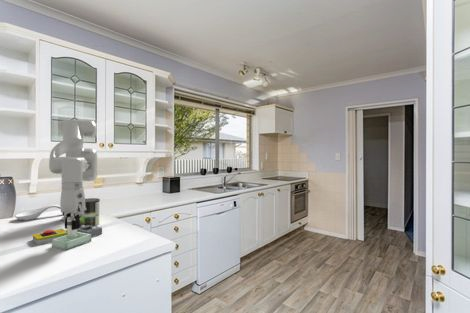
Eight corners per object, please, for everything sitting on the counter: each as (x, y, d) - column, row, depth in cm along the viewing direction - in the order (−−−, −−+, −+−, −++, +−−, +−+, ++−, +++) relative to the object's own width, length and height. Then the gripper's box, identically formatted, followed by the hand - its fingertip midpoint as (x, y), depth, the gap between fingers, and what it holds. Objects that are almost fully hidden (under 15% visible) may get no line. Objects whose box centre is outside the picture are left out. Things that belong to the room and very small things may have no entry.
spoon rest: (14, 223, 135) (14, 210, 134) (15, 219, 144) (15, 207, 144) (65, 216, 150) (65, 205, 150) (64, 213, 159) (64, 202, 159)
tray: (77, 238, 111) (77, 231, 111) (91, 241, 108) (91, 234, 108) (51, 246, 101) (51, 239, 101) (66, 250, 98) (66, 242, 98)
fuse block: (87, 231, 122) (87, 223, 122) (102, 233, 118) (102, 225, 118) (74, 235, 115) (74, 227, 115) (88, 238, 111) (88, 230, 111)
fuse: (73, 235, 107) (73, 215, 107) (79, 236, 105) (79, 216, 105) (64, 238, 103) (64, 217, 103) (70, 239, 102) (70, 218, 102)
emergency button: (27, 232, 107) (67, 225, 119) (27, 242, 107) (67, 233, 119) (32, 237, 101) (73, 228, 113) (32, 247, 101) (73, 238, 113)
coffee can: (86, 229, 124) (86, 202, 124) (73, 227, 128) (73, 200, 128) (104, 224, 133) (104, 198, 133) (91, 222, 137) (91, 197, 137)
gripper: (93, 186, 104) (93, 228, 104) (68, 184, 111) (68, 224, 111) (76, 188, 97) (76, 233, 98) (50, 186, 104) (50, 228, 104)
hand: (72, 228), depth 104 cm, fingers closed on fuse, 3 cm apart
